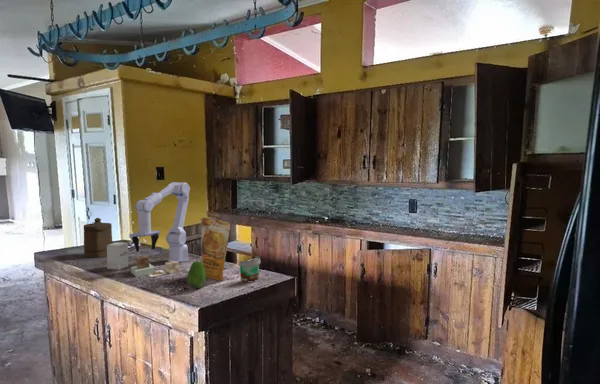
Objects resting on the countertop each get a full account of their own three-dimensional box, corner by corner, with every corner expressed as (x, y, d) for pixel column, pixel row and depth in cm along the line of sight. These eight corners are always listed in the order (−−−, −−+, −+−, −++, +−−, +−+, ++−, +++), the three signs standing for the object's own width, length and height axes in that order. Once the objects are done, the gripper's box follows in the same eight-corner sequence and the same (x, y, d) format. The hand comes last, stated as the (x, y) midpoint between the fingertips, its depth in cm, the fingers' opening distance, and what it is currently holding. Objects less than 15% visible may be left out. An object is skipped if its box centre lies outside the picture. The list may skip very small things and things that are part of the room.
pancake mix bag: (206, 271, 187) (206, 216, 185) (232, 279, 175) (232, 220, 173) (195, 274, 182) (195, 218, 180) (221, 282, 170) (220, 222, 168)
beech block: (173, 270, 189) (172, 260, 188) (178, 272, 186) (178, 262, 186) (165, 272, 185) (165, 262, 185) (170, 274, 183) (170, 264, 182)
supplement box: (119, 270, 189) (119, 245, 188) (106, 269, 190) (106, 244, 189) (129, 266, 196) (128, 242, 195) (116, 265, 197) (116, 241, 196)
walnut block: (146, 265, 186) (145, 255, 185) (149, 267, 182) (148, 257, 182) (136, 267, 183) (136, 257, 182) (139, 269, 179) (139, 259, 179)
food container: (249, 284, 167) (249, 263, 166) (239, 282, 170) (238, 261, 169) (265, 277, 177) (266, 257, 177) (255, 275, 181) (255, 255, 180)
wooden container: (99, 251, 230) (98, 215, 228) (118, 253, 225) (117, 217, 223) (78, 256, 216) (77, 219, 214) (97, 258, 211) (96, 220, 209)
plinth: (150, 269, 189) (149, 263, 189) (155, 273, 182) (155, 267, 182) (131, 273, 183) (130, 267, 183) (136, 277, 176) (135, 271, 176)
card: (161, 270, 188) (161, 269, 188) (167, 274, 182) (167, 273, 182) (145, 273, 183) (145, 272, 183) (150, 277, 177) (150, 276, 177)
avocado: (204, 290, 159) (204, 263, 158) (185, 290, 158) (185, 263, 157) (207, 284, 167) (207, 258, 166) (189, 284, 166) (189, 258, 165)
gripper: (131, 226, 179) (132, 253, 180) (162, 223, 189) (162, 249, 190) (127, 224, 185) (128, 251, 186) (157, 221, 194) (157, 247, 195)
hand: (145, 250), depth 188 cm, fingers open, 7 cm apart
